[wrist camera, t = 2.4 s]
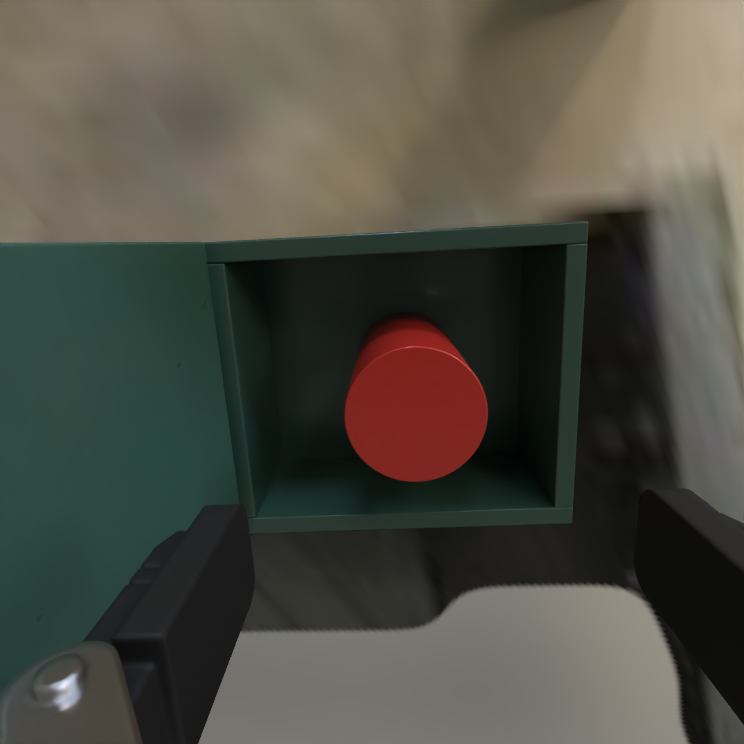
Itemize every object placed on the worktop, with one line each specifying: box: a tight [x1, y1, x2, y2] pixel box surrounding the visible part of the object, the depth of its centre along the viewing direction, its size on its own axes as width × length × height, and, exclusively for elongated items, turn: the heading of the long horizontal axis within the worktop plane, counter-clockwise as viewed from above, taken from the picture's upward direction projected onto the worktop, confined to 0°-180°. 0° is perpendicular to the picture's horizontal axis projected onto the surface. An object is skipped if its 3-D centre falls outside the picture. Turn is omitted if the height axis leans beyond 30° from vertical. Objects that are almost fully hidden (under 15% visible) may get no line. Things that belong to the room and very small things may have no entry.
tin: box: [344, 312, 488, 482], centre depth 21 cm, size 5×5×9 cm
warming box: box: [204, 221, 588, 534], centre depth 23 cm, size 15×13×7 cm
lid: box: [0, 242, 239, 695], centre depth 12 cm, size 16×13×1 cm
